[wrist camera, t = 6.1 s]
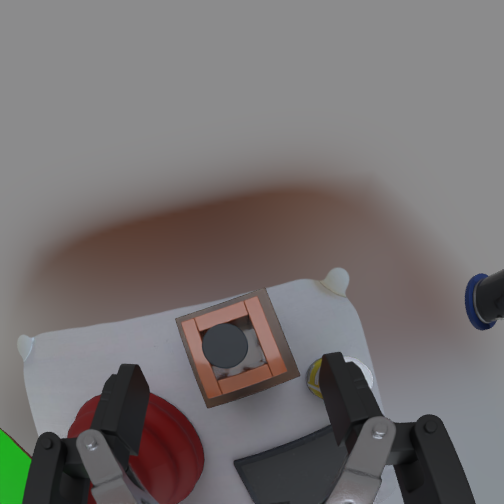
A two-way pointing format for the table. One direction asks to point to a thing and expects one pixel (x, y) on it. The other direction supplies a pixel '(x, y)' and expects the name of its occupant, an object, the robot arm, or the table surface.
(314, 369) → the pill bottle
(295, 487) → the tablet
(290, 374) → the stand
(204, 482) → the table surface
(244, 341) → the stylus
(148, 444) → the table lamp
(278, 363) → the pen cup
